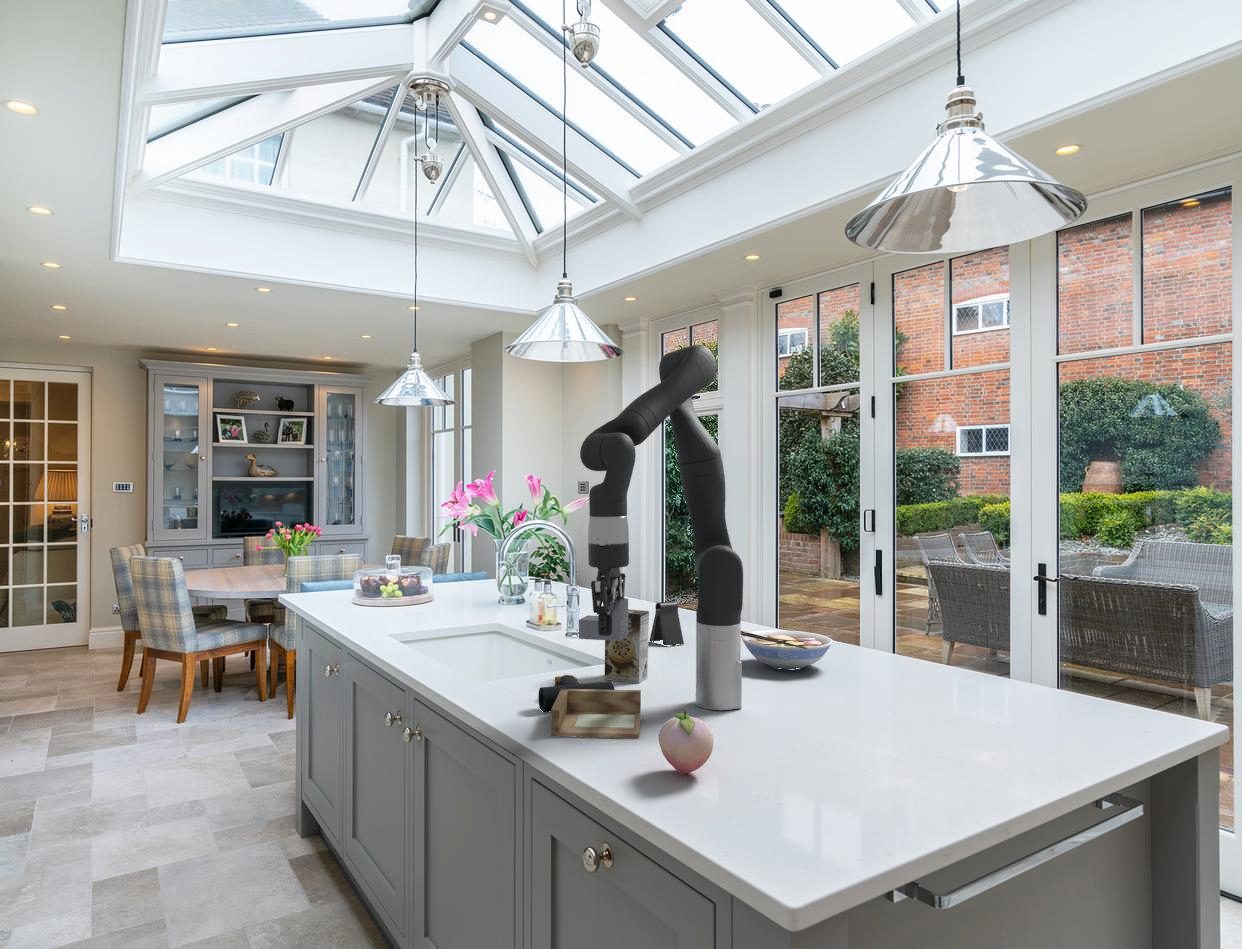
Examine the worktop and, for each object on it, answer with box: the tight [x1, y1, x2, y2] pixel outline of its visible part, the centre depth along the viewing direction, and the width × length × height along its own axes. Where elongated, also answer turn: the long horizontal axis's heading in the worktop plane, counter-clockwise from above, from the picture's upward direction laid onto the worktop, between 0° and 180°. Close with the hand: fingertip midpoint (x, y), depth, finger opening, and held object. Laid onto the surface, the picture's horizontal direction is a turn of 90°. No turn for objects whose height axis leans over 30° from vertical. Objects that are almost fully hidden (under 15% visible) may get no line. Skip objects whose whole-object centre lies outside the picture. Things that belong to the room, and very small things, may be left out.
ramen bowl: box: [741, 629, 834, 669], centre depth 200 cm, size 25×23×8 cm
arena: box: [550, 689, 642, 739], centre depth 150 cm, size 16×15×5 cm
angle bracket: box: [578, 597, 629, 641], centre depth 146 cm, size 5×8×7 cm, turn 72°
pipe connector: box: [537, 674, 616, 713], centre depth 165 cm, size 12×5×15 cm
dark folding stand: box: [649, 600, 685, 645], centre depth 229 cm, size 9×6×12 cm, turn 31°
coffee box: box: [603, 608, 650, 684], centre depth 186 cm, size 9×6×16 cm
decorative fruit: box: [658, 710, 714, 775], centre depth 125 cm, size 9×8×10 cm
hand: (609, 632), depth 146 cm, fingers closed on angle bracket, 5 cm apart
